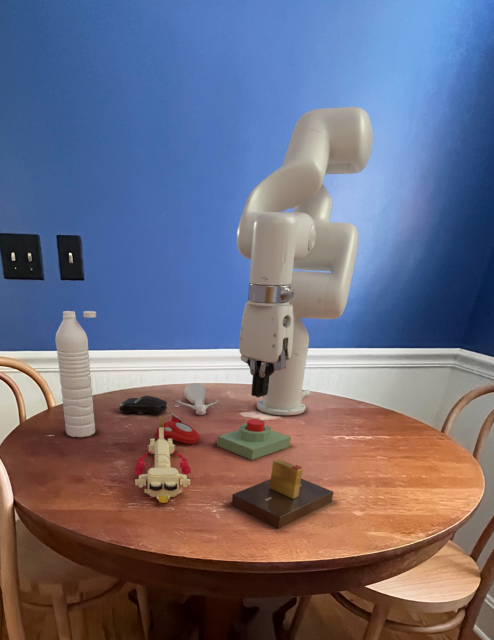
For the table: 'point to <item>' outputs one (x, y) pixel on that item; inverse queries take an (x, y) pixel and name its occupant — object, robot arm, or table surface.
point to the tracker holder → (179, 431)
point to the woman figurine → (196, 398)
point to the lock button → (255, 425)
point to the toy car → (143, 405)
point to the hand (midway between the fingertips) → (259, 395)
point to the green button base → (253, 442)
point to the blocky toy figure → (162, 469)
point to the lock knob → (286, 478)
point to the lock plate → (281, 502)
